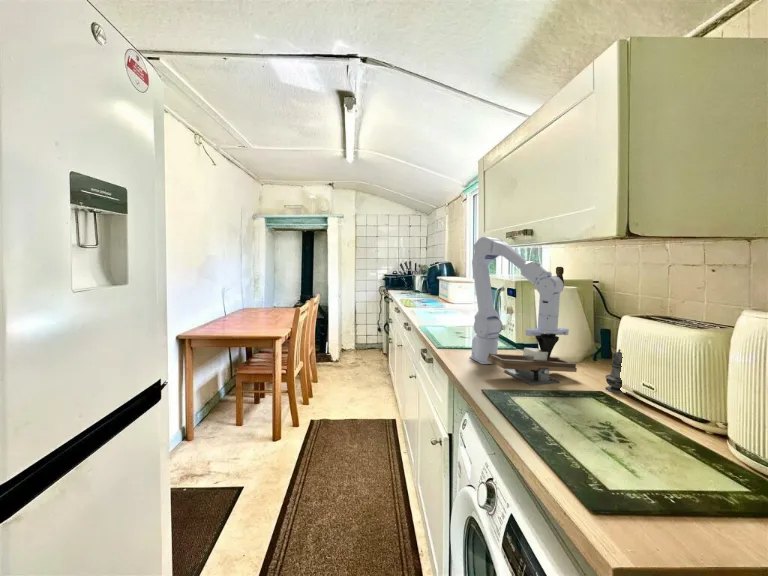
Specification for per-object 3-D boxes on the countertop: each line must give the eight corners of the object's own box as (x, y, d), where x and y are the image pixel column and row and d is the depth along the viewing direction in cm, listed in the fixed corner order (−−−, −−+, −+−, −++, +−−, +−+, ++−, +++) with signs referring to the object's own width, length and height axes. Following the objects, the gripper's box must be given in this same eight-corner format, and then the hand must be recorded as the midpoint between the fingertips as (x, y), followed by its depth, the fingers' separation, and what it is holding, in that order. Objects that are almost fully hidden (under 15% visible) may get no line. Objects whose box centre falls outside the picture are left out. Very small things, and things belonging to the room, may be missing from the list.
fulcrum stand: (503, 371, 118) (504, 358, 118) (529, 369, 121) (530, 356, 121) (531, 385, 105) (532, 370, 105) (560, 383, 108) (561, 369, 108)
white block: (522, 360, 115) (524, 347, 114) (535, 360, 116) (537, 348, 116) (532, 364, 110) (534, 351, 110) (546, 365, 112) (548, 352, 111)
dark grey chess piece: (632, 395, 100) (636, 352, 99) (608, 393, 101) (612, 350, 100) (622, 388, 106) (626, 347, 105) (600, 386, 107) (604, 345, 106)
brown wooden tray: (487, 360, 114) (488, 352, 114) (555, 363, 121) (556, 356, 121) (503, 368, 105) (505, 360, 105) (576, 372, 112) (577, 364, 112)
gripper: (537, 317, 107) (534, 362, 108) (577, 316, 111) (574, 360, 112) (522, 313, 114) (519, 356, 115) (560, 313, 118) (557, 354, 119)
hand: (545, 357), depth 114 cm, fingers closed
